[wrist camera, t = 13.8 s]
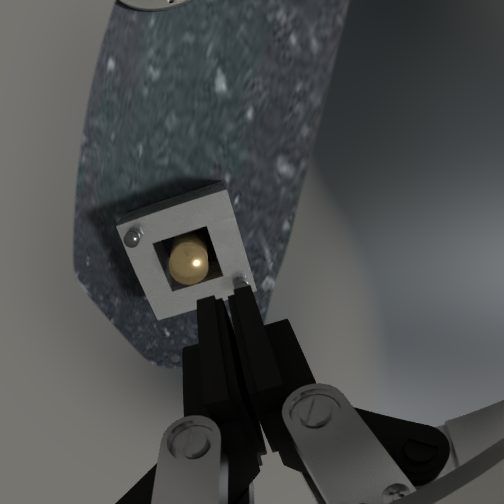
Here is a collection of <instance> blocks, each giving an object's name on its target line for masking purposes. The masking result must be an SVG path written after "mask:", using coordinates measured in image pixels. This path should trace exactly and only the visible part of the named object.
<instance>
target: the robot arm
mask: <svg viewBox="0 0 504 504" xmlns="http://www.w3.org/2000/svg"><path fill="white" fill-rule="evenodd" d="M119 1H120V2H122V3H123V4H125V5H126V6H129V7H131V8H134V9H138V10H143V11H160V10H167V9H171V8H175V7H178V6H180V5H183V4H185V3H187V2H189V1H191V0H119ZM170 1H173V3H169V2H170ZM233 292H234V294H233V295H230V296H228V301H229V306H230V311H231V316H232V321H233V326H234V330H233V327H232V324H231V321H230V318H229V315H228V312H227V310H226V307H225V304H224V301H223V298H219V299H216V298H215V296H214V295H212V296H209V297H205V298H202V299H198V300H197V302H196V303H197V322H198V339H199V344H195V345H191V346H187V347H184V348H183V352H182V359H183V404H184V417H183V418H181V419H179V420H177V421H175V422H174V423H173V424H171V425H170V426H169V427H168V428H167V430H166V431H165V432H164V434H163V437H162V440H161V444H160V450H159V456H158V462H157V464H156V465H155V466H154V467H153V468H152V469H151V470H150V471H148V473H147V474H145V476H143V477H142V478H141V479H140V480H139V481H138V482H137V483H136V484H135V485H134V486H133V487H132V488H131V489H130V490H129V491H128V492H127V493H126V494H125V495H124V496H123V497H122V498H121V499H120V500H119V501H118V502H117V503H115V504H254V486H253V480H254V479H255V477H256V476H257V475H258V473H259V472H260V468H259V466H261V465H262V460H261V455H265V454H267V451H266V447H265V443H264V439H263V435H262V431H261V427H260V424H261V426H262V429H263V431H264V433H265V436H266V438H267V440H268V443H269V445H270V447H271V449H272V452H277V451H278V452H279V454H280V457H281V459H282V462H283V464H284V465H285V466H287V467H290V468H292V469H294V470H297V471H299V472H300V474H301V476H302V477H303V479H304V481H305V483H306V485H307V487H308V488H309V490H310V492H311V494H312V496H313V498H314V499H315V501H316V503H317V504H504V400H503V401H500V402H498V403H495V404H493V405H490V406H488V407H485V408H482V409H480V410H477V411H474V412H472V413H469V414H466V415H463V416H460V417H457V418H454V419H451V420H448V421H446V422H445V424H444V425H442V426H438V427H432V426H429V425H424V424H420V423H415V422H410V421H406V420H402V419H397V418H393V417H389V416H385V415H381V414H377V413H373V412H369V411H365V410H362V409H358V408H354V407H353V406H352V405H351V404H350V402H349V401H348V400H347V398H346V397H345V396H344V394H343V393H342V392H340V391H339V390H338V389H337V388H335V387H333V386H331V385H327V384H321V383H318V384H316V381H315V379H314V377H313V375H312V372H311V370H310V368H309V365H308V363H307V361H306V359H305V356H304V354H303V352H302V350H301V347H300V345H299V343H298V340H297V338H296V336H295V334H294V331H293V329H292V327H291V324H290V322H289V320H288V319H284V320H281V321H278V322H274V323H271V324H268V325H264V324H263V321H262V318H261V315H260V312H259V309H258V306H257V303H256V300H255V297H254V294H253V291H252V288H251V285H248V286H244V287H241V288H237V289H234V290H233ZM234 331H235V333H234ZM259 421H260V422H259Z"/></svg>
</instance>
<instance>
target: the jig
mask: <svg viewBox="0 0 504 504" xmlns="http://www.w3.org/2000/svg"><path fill="white" fill-rule="evenodd" d="M205 226H207V228H208V231H209V234H210V237H211V240H212V243H213V246H214V249H215V252H216V255H217V258H218V259H215V260H212V261H209V262H208V272H207V275H206V276H205V278H204V279H203V280H201V281H200V282H198V283H196V284H191V285H186V284H182V283H180V282H178V281H176V280H175V279H174V278H173V277H172V275H171V274H170V271H169V261H170V260H169V257H168V255H167V252H166V250H165V247H164V245H163V242H162V240H164V239H167V238H170V237H173V236H176V235H180V234H183V233H186V232H189V231H192V230H195V229H198V228H201V227H205ZM116 228H117V230H118V233H119V235H120V238H121V240H122V242H123V245H124V247H125V250H126V252H127V254H128V257H129V259H130V261H131V264H132V266H133V268H134V270H135V273H136V275H137V277H138V279H139V281H140V284H141V286H142V288H143V290H144V292H145V294H146V297H147V299H148V301H149V303H150V305H151V307H152V309H153V311H154V313H155V315H156V317H157V319H158V320H160V319H164V318H167V317H171V316H174V315H178V314H181V313H185V312H188V311H191V310H195V309H197V303H196V302H197V300H198V299H202V298H205V297H209V296H212V295H214V296H215V298H216V299H219V298H223V301H225V300H228V296H230V295H233V294H234V292H233V290H234V289H237V288H241V287H244V286H248V285H251V288H252V291H253V292H254V291H257V290H256V286H255V283H254V280H253V276H252V273H251V270H250V266H249V263H248V260H247V256H246V253H245V249H244V246H243V243H242V239H241V236H240V233H239V229H238V226H237V223H236V219H235V216H234V212H233V209H232V206H231V202H230V199H229V195H228V192H227V189H226V187H225V184H224V182H223V181H221V182H218V183H214V184H211V185H208V186H205V187H202V188H199V189H195V190H192V191H189V192H186V193H183V194H180V195H177V196H174V197H171V198H168V199H165V200H162V201H159V202H156V203H153V204H150V205H148V206H145V207H142V208H139V209H136V210H133V211H131V212H128V213H125V215H124V216H123V217H122V219H121V220H120V222H119V223H118V224H117V226H116Z"/></svg>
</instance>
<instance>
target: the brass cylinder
mask: <svg viewBox="0 0 504 504" xmlns="http://www.w3.org/2000/svg"><path fill="white" fill-rule="evenodd" d="M169 271H170V274H171V275H172V277H173V278H174V279H175V280H176V281H178V282H180V283H182V284H186V285H191V284H196V283H198V282H200V281H201V280H203V279H204V278H205V276H206V275H207V272H208V254H207V242H206V237H205V235H204V234H203V233H202V232H201V231H200V230H199V229H195V230H192V231H189V232H186V233H183V234H180V235H176V236H175V237H174V241H173V245H172V250H171V256H170V261H169Z"/></svg>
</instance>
